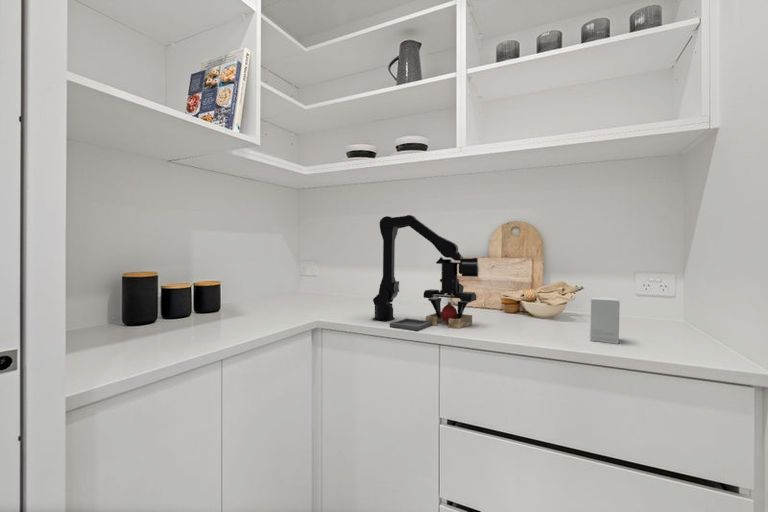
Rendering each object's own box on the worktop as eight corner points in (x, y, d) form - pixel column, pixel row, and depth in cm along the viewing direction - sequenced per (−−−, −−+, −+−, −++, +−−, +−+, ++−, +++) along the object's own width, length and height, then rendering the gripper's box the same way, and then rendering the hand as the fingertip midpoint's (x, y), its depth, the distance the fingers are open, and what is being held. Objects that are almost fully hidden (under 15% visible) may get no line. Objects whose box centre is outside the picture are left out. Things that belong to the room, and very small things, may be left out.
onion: (457, 325, 130) (457, 303, 130) (440, 325, 131) (441, 303, 131) (457, 322, 136) (457, 301, 136) (441, 322, 137) (441, 300, 137)
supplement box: (619, 344, 105) (619, 300, 105) (589, 340, 109) (590, 298, 109) (618, 339, 111) (619, 297, 111) (590, 336, 115) (591, 296, 115)
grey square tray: (389, 327, 127) (389, 322, 127) (406, 322, 136) (406, 318, 136) (417, 331, 121) (417, 326, 121) (432, 325, 130) (432, 321, 130)
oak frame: (425, 324, 132) (425, 316, 132) (440, 319, 142) (440, 311, 142) (459, 328, 125) (459, 320, 125) (472, 323, 135) (472, 315, 135)
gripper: (481, 276, 135) (481, 318, 135) (436, 274, 145) (436, 313, 146) (470, 277, 125) (470, 323, 126) (422, 275, 136) (422, 317, 136)
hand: (449, 318), depth 134 cm, fingers open, 8 cm apart
